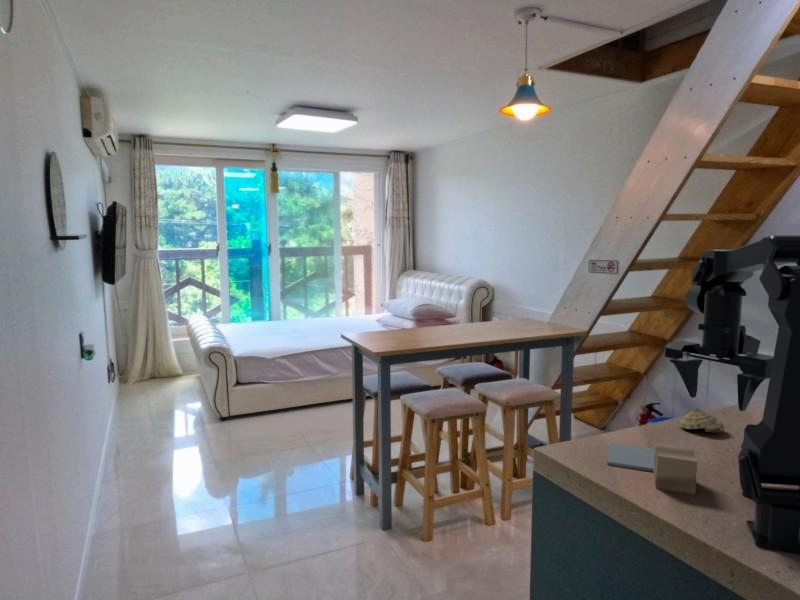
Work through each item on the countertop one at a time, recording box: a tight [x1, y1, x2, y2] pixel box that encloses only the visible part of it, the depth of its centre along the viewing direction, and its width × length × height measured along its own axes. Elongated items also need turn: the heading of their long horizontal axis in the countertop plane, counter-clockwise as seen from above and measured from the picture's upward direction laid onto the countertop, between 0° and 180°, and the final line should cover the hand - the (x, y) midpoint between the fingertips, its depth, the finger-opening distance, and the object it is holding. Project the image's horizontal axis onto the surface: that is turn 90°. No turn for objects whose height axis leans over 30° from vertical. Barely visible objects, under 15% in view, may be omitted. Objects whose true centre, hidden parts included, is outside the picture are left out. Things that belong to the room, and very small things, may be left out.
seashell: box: [679, 408, 726, 434], centre depth 118 cm, size 8×6×8 cm
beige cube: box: [653, 443, 698, 495], centre depth 92 cm, size 6×6×6 cm
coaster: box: [606, 442, 655, 473], centre depth 103 cm, size 10×10×1 cm
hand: (716, 403), depth 95 cm, fingers open, 9 cm apart
